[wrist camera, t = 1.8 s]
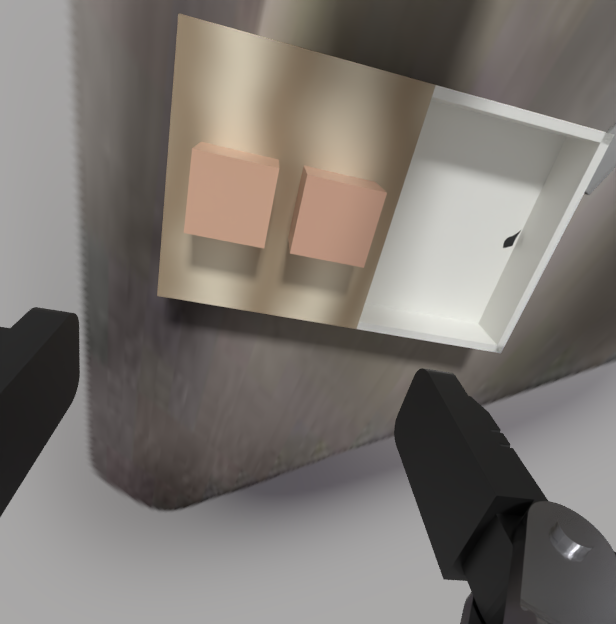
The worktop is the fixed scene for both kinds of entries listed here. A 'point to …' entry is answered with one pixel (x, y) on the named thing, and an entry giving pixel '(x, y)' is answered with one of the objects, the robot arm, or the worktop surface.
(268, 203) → the tile
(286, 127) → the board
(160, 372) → the worktop surface
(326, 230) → the tile
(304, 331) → the worktop surface
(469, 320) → the tray
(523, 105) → the worktop surface
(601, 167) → the chef's knife
